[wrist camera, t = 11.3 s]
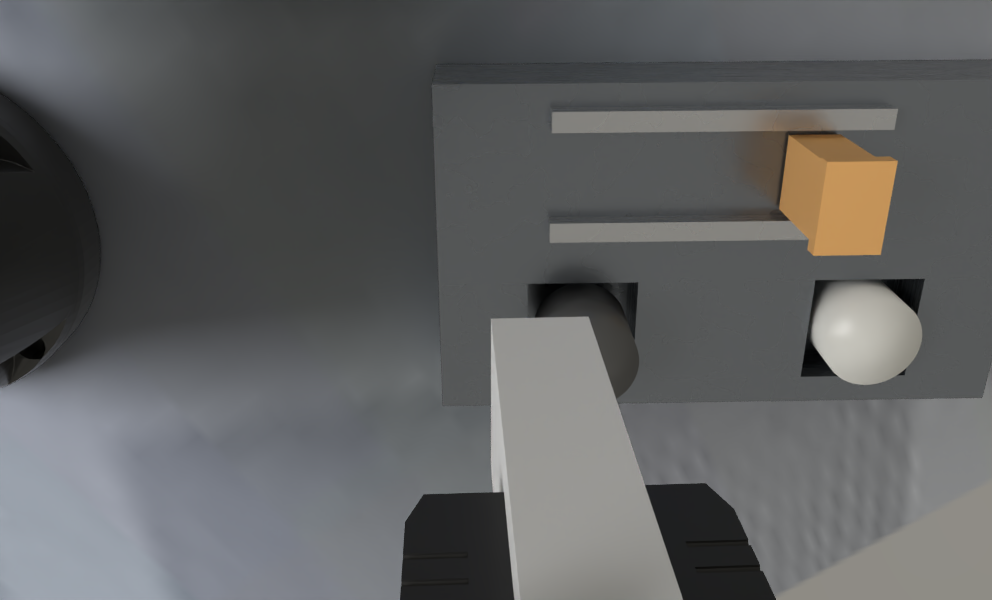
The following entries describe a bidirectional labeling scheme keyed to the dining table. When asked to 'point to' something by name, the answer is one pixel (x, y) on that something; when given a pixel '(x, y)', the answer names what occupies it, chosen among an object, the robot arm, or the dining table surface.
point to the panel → (709, 216)
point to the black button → (599, 328)
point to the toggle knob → (837, 194)
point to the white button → (863, 330)
